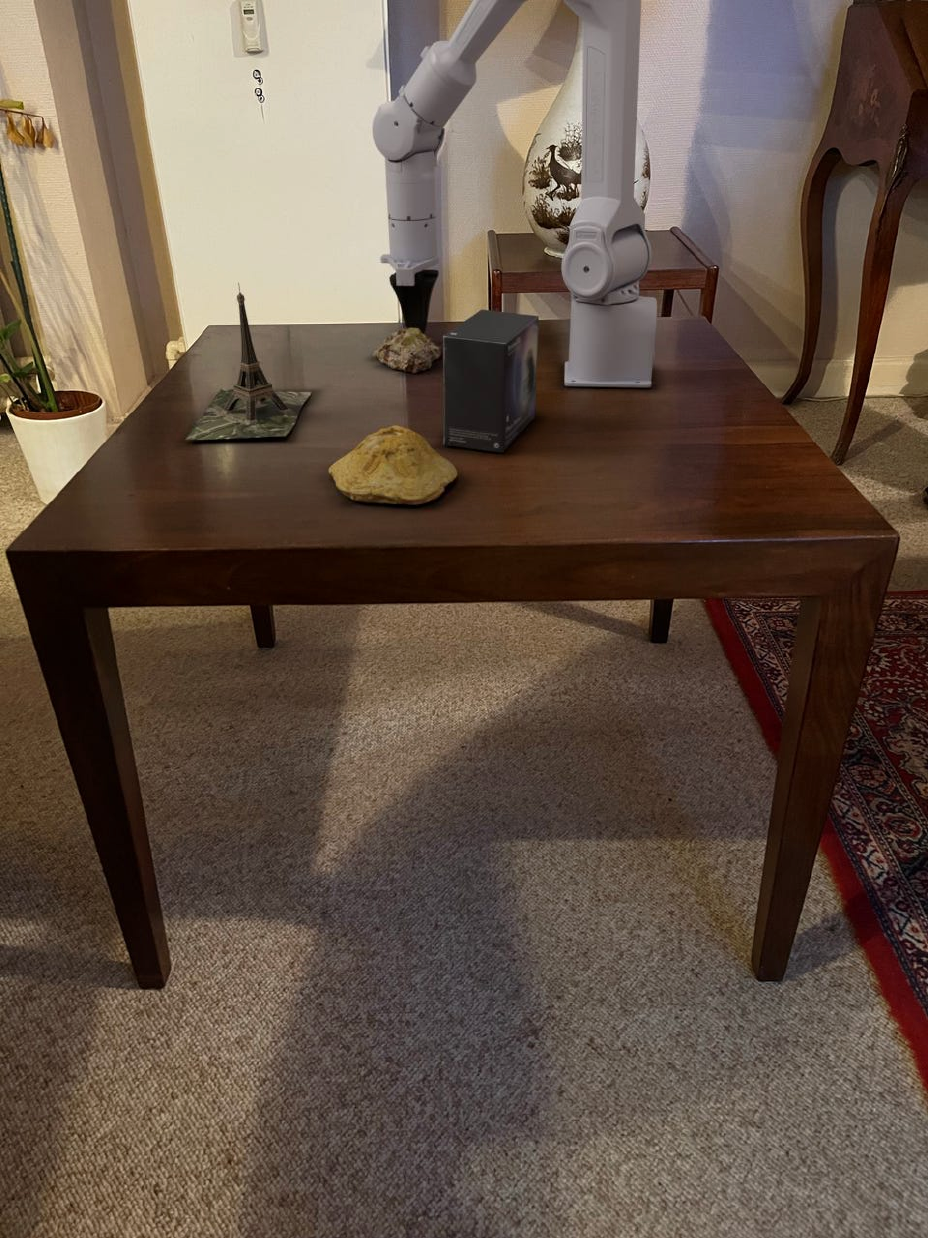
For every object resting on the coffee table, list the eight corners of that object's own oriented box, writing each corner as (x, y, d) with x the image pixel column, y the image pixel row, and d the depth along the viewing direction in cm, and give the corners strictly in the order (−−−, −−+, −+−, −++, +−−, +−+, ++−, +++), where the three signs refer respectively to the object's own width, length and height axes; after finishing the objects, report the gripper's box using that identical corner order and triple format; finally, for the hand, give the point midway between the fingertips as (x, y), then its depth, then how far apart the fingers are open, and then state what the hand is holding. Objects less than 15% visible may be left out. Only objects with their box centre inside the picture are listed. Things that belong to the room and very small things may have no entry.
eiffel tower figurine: (220, 393, 102) (200, 266, 95) (311, 392, 102) (298, 265, 95) (185, 444, 90) (159, 302, 83) (290, 442, 90) (273, 300, 83)
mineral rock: (365, 331, 114) (427, 310, 114) (377, 364, 117) (437, 343, 117) (373, 359, 106) (440, 336, 105) (385, 394, 108) (451, 372, 108)
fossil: (311, 429, 75) (363, 393, 83) (302, 493, 78) (352, 452, 87) (436, 477, 73) (476, 435, 82) (421, 540, 77) (461, 494, 85)
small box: (506, 455, 86) (508, 341, 81) (441, 447, 88) (438, 335, 83) (538, 417, 95) (542, 312, 89) (478, 411, 96) (478, 307, 91)
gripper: (388, 207, 117) (394, 317, 124) (367, 227, 104) (375, 348, 112) (444, 207, 116) (447, 318, 123) (429, 227, 104) (433, 349, 111)
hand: (416, 332), depth 117 cm, fingers closed
